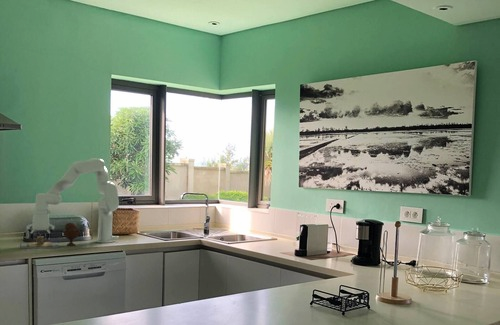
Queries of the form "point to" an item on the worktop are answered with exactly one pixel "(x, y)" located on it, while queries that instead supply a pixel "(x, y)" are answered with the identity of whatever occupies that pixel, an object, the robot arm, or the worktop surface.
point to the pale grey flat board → (25, 246)
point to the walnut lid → (40, 243)
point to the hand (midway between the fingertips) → (40, 239)
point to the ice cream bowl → (71, 233)
